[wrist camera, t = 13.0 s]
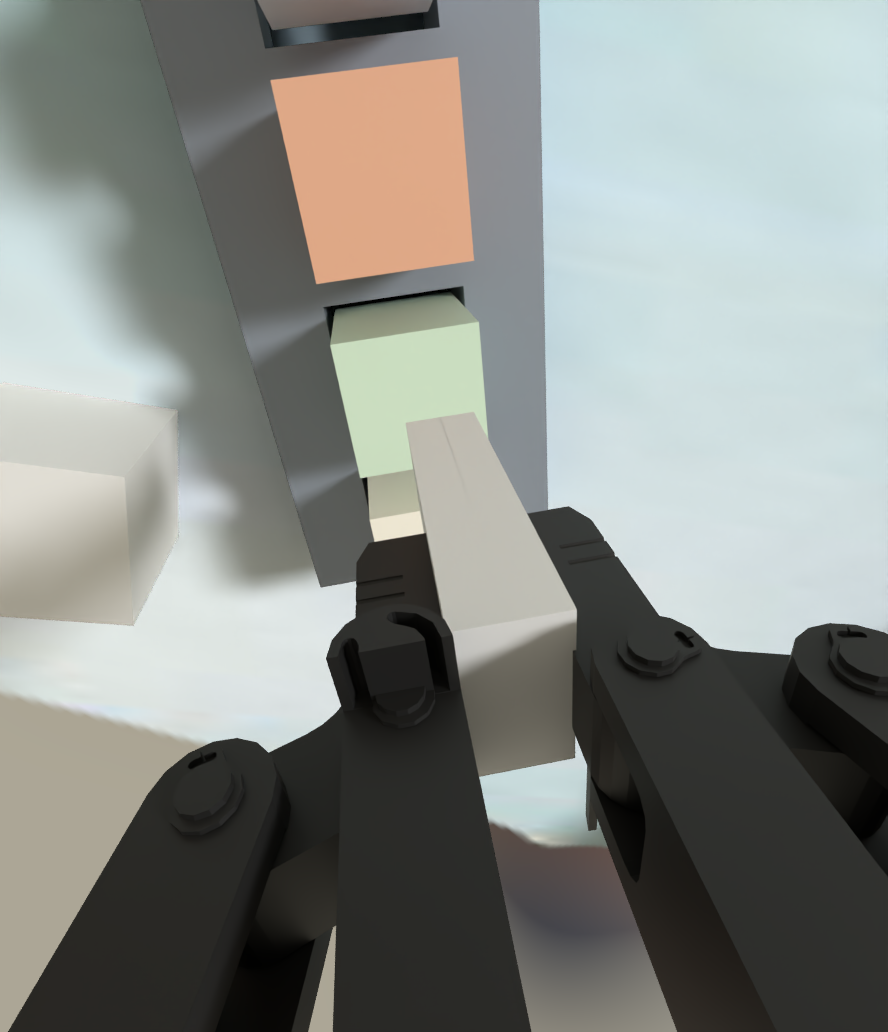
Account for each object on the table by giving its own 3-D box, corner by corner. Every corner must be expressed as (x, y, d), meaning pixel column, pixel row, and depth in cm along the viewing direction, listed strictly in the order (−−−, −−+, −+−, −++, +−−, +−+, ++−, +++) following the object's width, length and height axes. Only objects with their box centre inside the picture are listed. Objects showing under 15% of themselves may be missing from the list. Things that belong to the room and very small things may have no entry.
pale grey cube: (27, 518, 23) (-68, 612, 18) (4, 381, 20) (-116, 446, 15) (180, 535, 24) (133, 626, 19) (179, 408, 21) (124, 476, 16)
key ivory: (474, 521, 24) (500, 593, 19) (383, 537, 23) (390, 613, 19) (465, 437, 22) (492, 498, 17) (366, 454, 21) (369, 519, 17)
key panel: (529, 511, 26) (548, 545, 24) (323, 547, 26) (320, 587, 23) (500, -238, 14) (533, -333, 11) (107, -203, 13) (50, -293, 11)
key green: (461, 401, 21) (489, 456, 17) (358, 418, 21) (360, 478, 16) (450, 291, 19) (479, 321, 14) (335, 309, 18) (330, 344, 14)
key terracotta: (445, 243, 18) (474, 261, 14) (324, 261, 18) (316, 284, 13) (429, 92, 16) (458, 56, 12) (292, 109, 16) (270, 80, 11)
